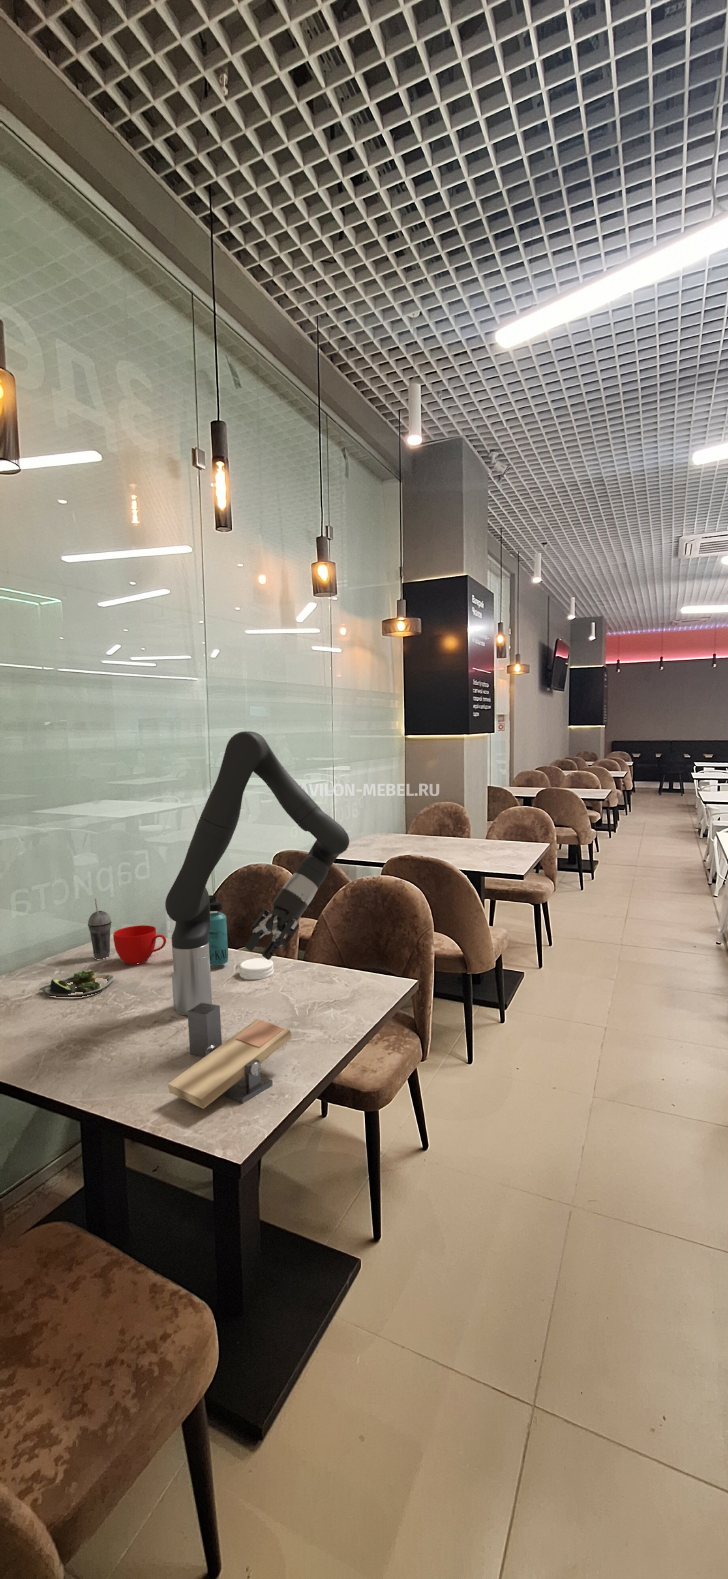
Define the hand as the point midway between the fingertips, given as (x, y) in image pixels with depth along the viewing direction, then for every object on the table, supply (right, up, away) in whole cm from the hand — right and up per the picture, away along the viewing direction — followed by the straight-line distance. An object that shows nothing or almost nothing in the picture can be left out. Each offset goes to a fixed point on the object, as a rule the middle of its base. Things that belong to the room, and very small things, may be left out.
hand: (256, 953), depth 155 cm
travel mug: (-25, -16, +60) cm, 67 cm away
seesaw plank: (-1, -16, -21) cm, 27 cm away
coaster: (-7, -17, +43) cm, 47 cm away
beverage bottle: (-20, -17, +50) cm, 57 cm away
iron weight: (-10, -21, -6) cm, 24 cm away
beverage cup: (-61, -17, +63) cm, 89 cm away
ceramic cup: (-46, -17, +58) cm, 76 cm away
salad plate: (-57, -20, +36) cm, 70 cm away
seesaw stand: (-1, -21, -20) cm, 30 cm away
